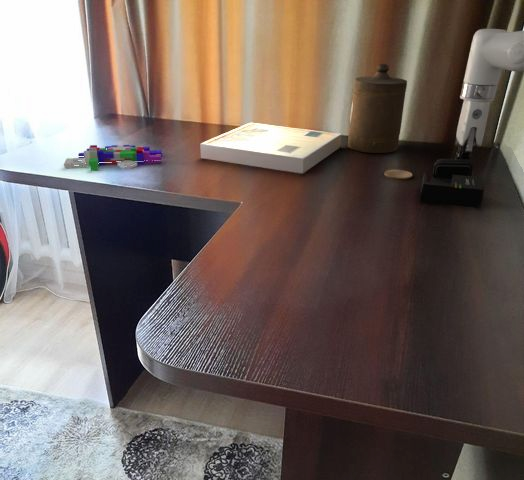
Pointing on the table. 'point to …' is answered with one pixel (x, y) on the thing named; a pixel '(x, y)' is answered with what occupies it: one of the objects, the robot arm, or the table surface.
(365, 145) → the wooden container
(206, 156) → the flat white box
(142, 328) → the table surface
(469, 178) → the battery charger
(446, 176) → the webcam
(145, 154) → the building block set
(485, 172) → the table surface
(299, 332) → the table surface
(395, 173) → the coaster
